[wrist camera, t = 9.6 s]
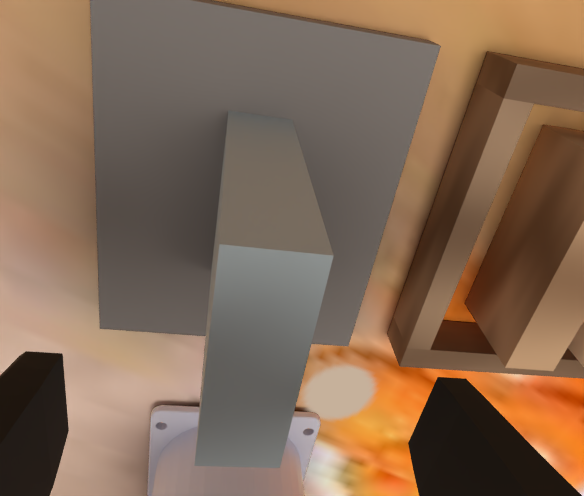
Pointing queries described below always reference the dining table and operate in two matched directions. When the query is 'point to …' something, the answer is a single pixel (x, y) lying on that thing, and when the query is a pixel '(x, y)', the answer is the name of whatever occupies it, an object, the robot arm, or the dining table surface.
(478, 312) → the stained offcut
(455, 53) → the dining table surface
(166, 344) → the dining table surface
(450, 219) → the walnut rack
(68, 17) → the dining table surface
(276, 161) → the grey rectangular block
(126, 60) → the rubber mat
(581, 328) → the birch offcut
